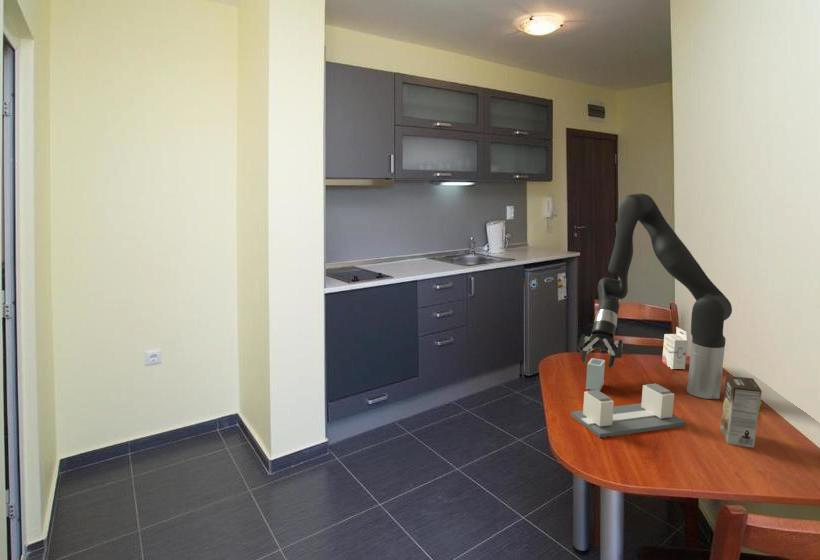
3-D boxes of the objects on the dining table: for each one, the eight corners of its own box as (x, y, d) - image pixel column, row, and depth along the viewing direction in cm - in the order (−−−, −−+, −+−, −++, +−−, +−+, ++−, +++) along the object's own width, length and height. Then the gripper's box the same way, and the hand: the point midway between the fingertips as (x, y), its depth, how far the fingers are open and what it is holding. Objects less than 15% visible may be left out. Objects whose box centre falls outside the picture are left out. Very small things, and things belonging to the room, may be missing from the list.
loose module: (603, 384, 168) (605, 360, 167) (599, 391, 162) (601, 366, 161) (589, 382, 171) (591, 357, 169) (585, 389, 165) (587, 363, 163)
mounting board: (650, 405, 151) (650, 400, 151) (685, 426, 138) (686, 420, 138) (570, 415, 145) (571, 410, 144) (599, 437, 131) (600, 432, 131)
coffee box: (719, 428, 136) (725, 374, 134) (746, 432, 134) (752, 377, 131) (726, 444, 128) (733, 386, 125) (755, 448, 126) (763, 390, 123)
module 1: (594, 412, 143) (596, 388, 142) (612, 424, 135) (614, 399, 134) (582, 414, 142) (584, 389, 141) (599, 426, 134) (601, 400, 133)
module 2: (652, 405, 148) (654, 382, 146) (672, 417, 140) (674, 392, 139) (641, 406, 147) (643, 383, 146) (660, 418, 139) (662, 393, 138)
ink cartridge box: (660, 362, 191) (664, 326, 188) (673, 362, 191) (677, 326, 188) (672, 370, 182) (675, 332, 180) (685, 370, 182) (689, 332, 180)
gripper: (583, 316, 176) (574, 355, 168) (625, 322, 168) (618, 363, 161) (585, 327, 181) (576, 365, 173) (626, 333, 174) (619, 373, 166)
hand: (596, 364), depth 167 cm, fingers open, 8 cm apart
